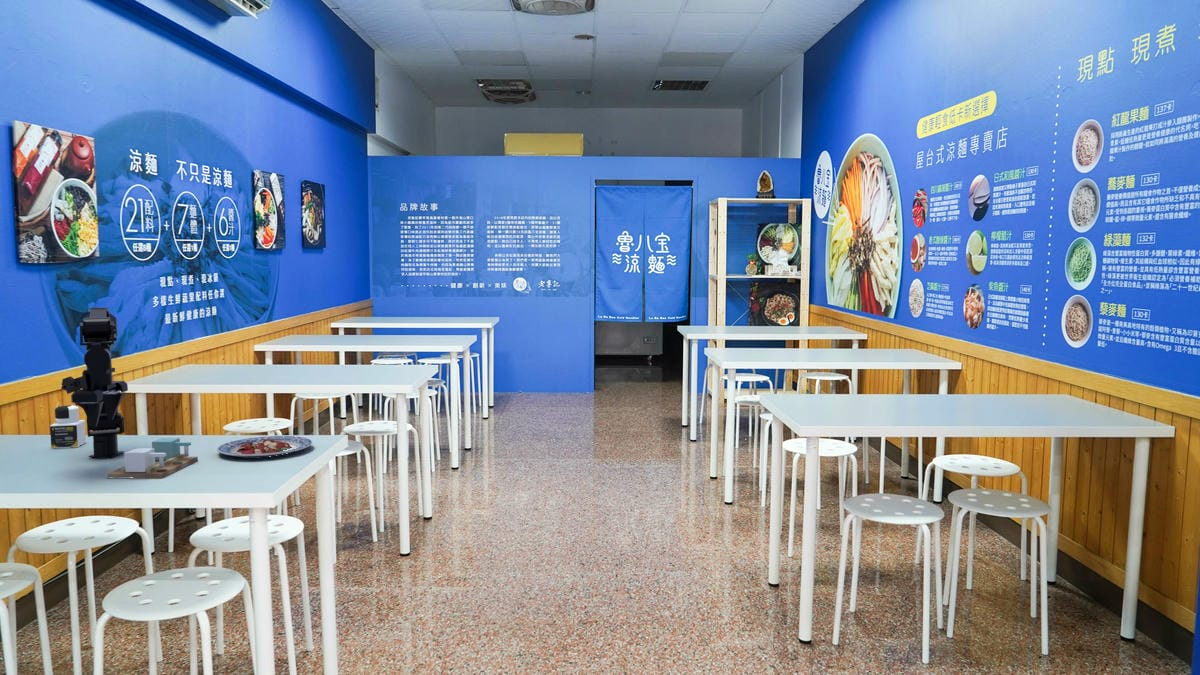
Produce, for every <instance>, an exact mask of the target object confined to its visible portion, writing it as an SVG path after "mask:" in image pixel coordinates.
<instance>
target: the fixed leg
mask: <svg viewBox="0 0 1200 675" xmlns="http://www.w3.org/2000/svg"><path fill="white" fill-rule="evenodd" d="M165 456H166V453H155V448H152V447H151V448H150V447H149V448H143V447H141V448H135V447H134V448H133V449H130V450H128V451H125V452H124V466H125V472H146V469H148V468H150V467H153V466H155V457H159V466H160V468H164V458H163V457H165Z"/></svg>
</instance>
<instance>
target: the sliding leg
mask: <svg viewBox="0 0 1200 675" xmlns="http://www.w3.org/2000/svg"><path fill="white" fill-rule="evenodd" d="M191 445H192V442H191V441H181V439H180V437H161V438H158V439H156V440H154V441H151V448H155V453H166V456H165V457H163V458H164V460H168V459H170V458H173V457H175V456H177V455H179V454H181V447H183V448H184V450H183V452H184V454H185V457H190V455H189V454H190V453H189V446H191ZM155 460H159V457H155Z"/></svg>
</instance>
